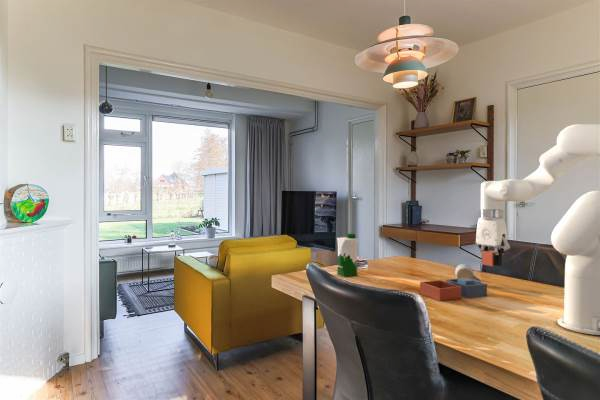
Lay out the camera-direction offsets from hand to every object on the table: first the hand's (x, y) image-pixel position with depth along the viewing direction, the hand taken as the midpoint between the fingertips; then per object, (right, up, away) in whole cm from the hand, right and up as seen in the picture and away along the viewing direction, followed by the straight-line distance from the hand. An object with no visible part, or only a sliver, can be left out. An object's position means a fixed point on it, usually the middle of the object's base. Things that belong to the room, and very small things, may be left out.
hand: (491, 264), depth 133 cm
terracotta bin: (-16, -14, +9) cm, 23 cm away
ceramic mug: (+6, -14, +32) cm, 35 cm away
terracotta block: (0, 0, 0) cm, 0 cm away
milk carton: (-47, -13, +45) cm, 67 cm away
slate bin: (-3, -14, +13) cm, 20 cm away
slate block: (-3, -14, +13) cm, 19 cm away
